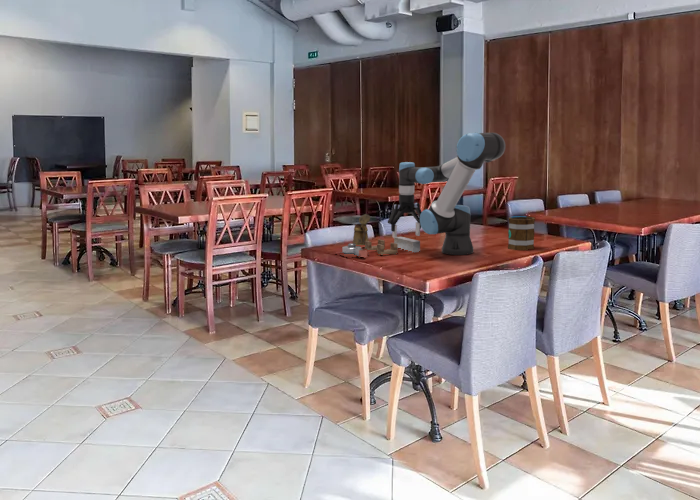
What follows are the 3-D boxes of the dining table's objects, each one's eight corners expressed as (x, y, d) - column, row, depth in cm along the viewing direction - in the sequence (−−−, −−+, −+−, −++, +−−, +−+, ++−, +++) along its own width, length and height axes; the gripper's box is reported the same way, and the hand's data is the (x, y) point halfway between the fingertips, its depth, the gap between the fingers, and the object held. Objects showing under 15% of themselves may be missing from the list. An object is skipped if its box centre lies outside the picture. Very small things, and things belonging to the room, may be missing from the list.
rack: (397, 254, 311) (397, 243, 311) (381, 256, 307) (381, 245, 306) (380, 249, 325) (380, 239, 324) (364, 251, 321) (364, 241, 320)
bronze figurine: (357, 249, 325) (357, 214, 322) (349, 245, 338) (349, 211, 335) (374, 248, 328) (374, 213, 325) (366, 244, 340) (365, 210, 337)
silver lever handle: (339, 252, 313) (339, 243, 312) (355, 251, 317) (355, 241, 316) (355, 258, 298) (355, 248, 298) (372, 256, 302) (372, 246, 302)
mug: (539, 249, 316) (540, 219, 313) (512, 251, 314) (513, 220, 311) (523, 243, 335) (524, 214, 332) (498, 244, 333) (499, 215, 330)
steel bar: (420, 252, 317) (420, 241, 316) (413, 253, 315) (413, 241, 314) (400, 247, 332) (400, 236, 331) (394, 248, 330) (394, 237, 329)
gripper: (423, 191, 327) (422, 233, 331) (380, 194, 316) (380, 237, 320) (432, 193, 321) (431, 235, 325) (388, 196, 309) (388, 240, 313)
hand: (406, 236), depth 322 cm, fingers open, 13 cm apart
